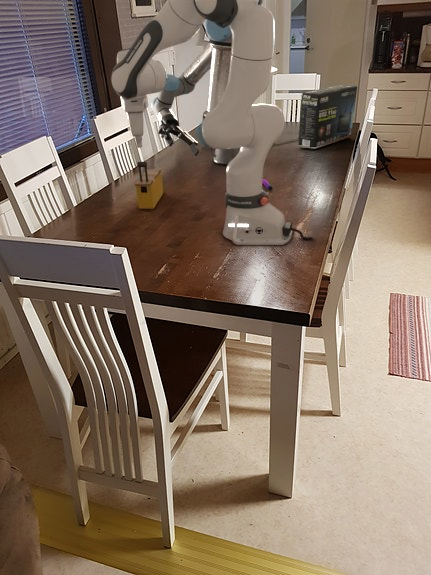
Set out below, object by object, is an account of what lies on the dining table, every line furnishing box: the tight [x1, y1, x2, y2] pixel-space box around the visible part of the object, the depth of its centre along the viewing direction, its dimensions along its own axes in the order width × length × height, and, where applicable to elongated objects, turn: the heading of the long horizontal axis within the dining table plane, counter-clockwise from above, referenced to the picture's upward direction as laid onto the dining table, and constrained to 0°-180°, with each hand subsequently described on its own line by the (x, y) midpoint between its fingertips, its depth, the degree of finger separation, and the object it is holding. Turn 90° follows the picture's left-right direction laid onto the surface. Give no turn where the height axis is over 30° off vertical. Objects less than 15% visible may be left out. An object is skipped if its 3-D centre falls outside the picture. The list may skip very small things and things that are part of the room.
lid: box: [134, 161, 162, 187], centre depth 172 cm, size 18×6×8 cm, turn 173°
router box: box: [297, 84, 358, 151], centre depth 238 cm, size 36×11×27 cm, turn 134°
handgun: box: [262, 177, 274, 192], centre depth 191 cm, size 21×8×2 cm, turn 11°
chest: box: [135, 171, 164, 210], centre depth 177 cm, size 17×6×9 cm, turn 173°
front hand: (139, 144), depth 161 cm, fingers open, 8 cm apart
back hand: (184, 148), depth 194 cm, fingers open, 13 cm apart
